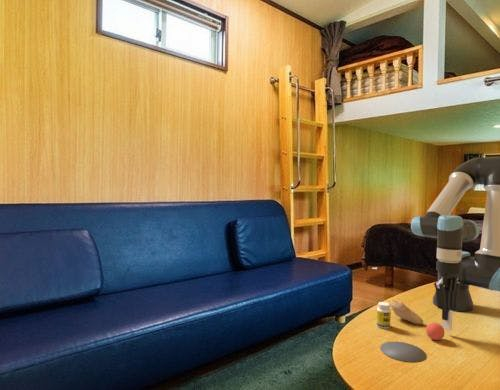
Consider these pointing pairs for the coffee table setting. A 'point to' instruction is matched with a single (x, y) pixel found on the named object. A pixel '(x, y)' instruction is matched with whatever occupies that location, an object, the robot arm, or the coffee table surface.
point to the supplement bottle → (383, 315)
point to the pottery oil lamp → (405, 312)
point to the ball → (435, 331)
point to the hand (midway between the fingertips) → (446, 328)
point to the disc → (403, 351)
